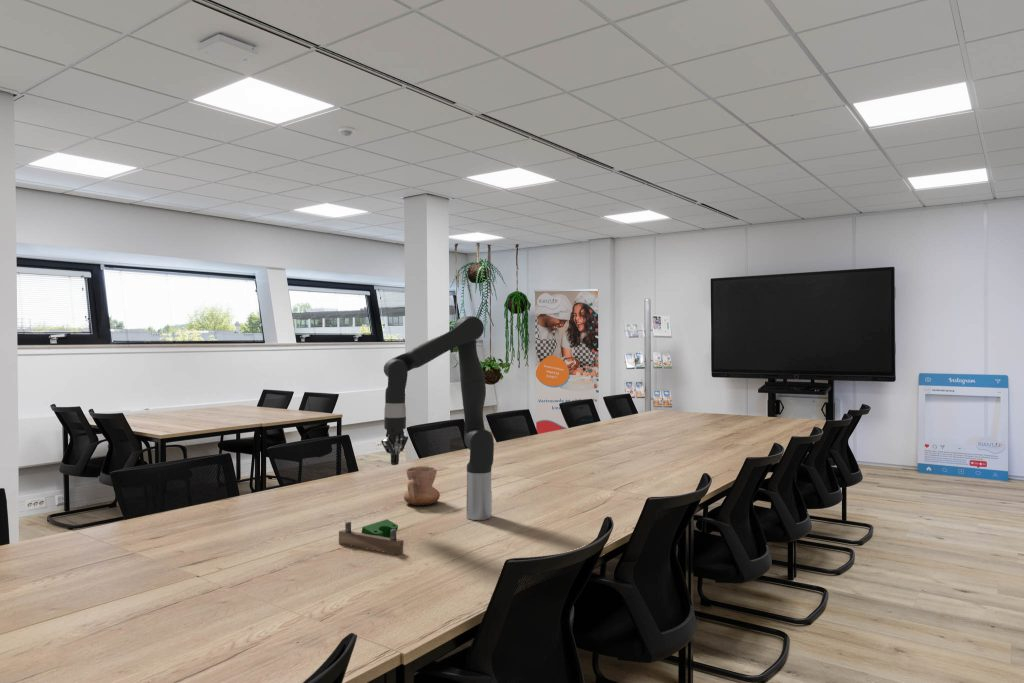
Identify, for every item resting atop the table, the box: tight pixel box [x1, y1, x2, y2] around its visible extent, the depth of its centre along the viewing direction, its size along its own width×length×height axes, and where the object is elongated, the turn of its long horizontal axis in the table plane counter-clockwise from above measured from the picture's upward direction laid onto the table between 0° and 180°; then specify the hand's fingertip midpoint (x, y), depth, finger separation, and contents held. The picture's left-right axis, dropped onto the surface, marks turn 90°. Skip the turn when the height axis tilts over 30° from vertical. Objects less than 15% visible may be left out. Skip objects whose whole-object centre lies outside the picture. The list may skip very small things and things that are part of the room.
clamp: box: [360, 519, 399, 538], centre depth 210 cm, size 12×6×9 cm, turn 141°
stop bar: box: [338, 521, 404, 556], centre depth 203 cm, size 2×24×7 cm, turn 63°
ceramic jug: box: [403, 465, 441, 506], centre depth 261 cm, size 18×14×14 cm
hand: (394, 464), depth 228 cm, fingers closed
